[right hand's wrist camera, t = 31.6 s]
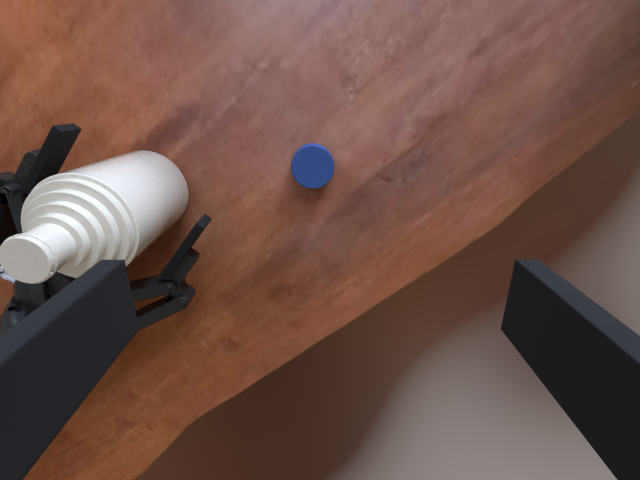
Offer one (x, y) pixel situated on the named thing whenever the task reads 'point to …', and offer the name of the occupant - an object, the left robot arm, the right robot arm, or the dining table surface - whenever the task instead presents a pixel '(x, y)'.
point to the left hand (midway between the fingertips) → (139, 175)
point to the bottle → (95, 216)
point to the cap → (312, 166)
